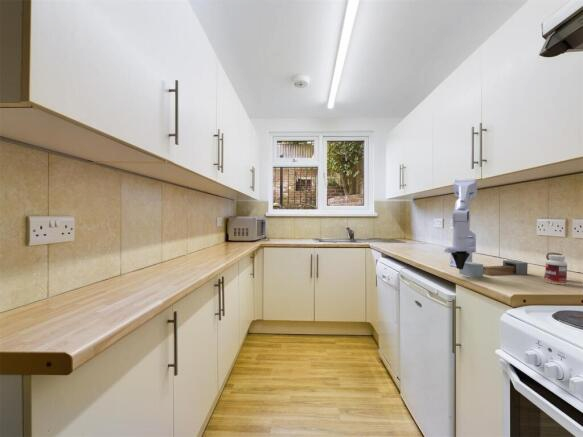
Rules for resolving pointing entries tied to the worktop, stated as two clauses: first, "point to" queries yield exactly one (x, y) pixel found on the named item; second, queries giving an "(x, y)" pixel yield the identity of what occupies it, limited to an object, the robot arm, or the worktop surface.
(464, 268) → the blue-grey block
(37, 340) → the worktop surface
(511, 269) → the slat
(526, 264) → the end cap fixed
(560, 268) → the pill bottle
